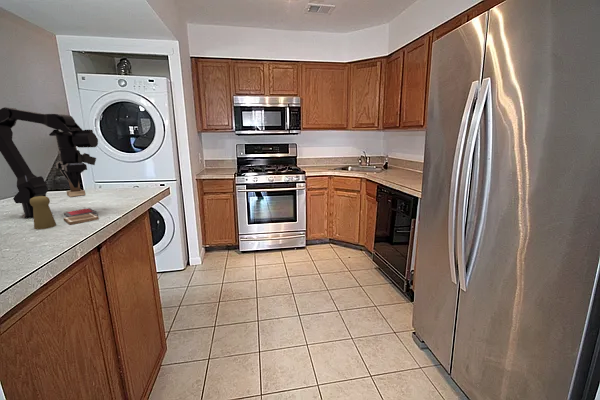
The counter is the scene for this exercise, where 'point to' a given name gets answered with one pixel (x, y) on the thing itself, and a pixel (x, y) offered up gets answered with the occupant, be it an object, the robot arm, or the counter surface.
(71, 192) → the wooden stamp
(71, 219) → the stamp board
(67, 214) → the ink pad
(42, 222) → the cork
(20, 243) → the counter surface
